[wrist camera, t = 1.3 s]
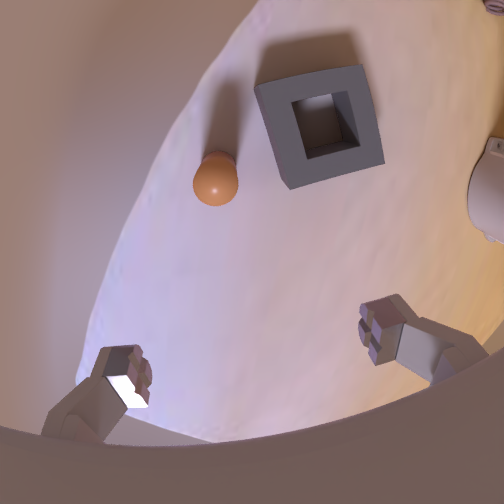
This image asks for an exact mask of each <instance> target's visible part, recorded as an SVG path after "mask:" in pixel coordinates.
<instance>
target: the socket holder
mask: <svg viewBox="0 0 504 504" xmlns="http://www.w3.org/2000/svg"><path fill="white" fill-rule="evenodd" d="M254 92H255V95H256V98H257V101H258V104H259V107H260V110H261V113H262V117H263V120H264V123H265V126H266V129H267V132H268V136H269V139H270V142H271V145H272V149H273V152H274V155H275V159H276V162H277V165H278V169H279V172H280V176H281V179H282V180H283V182H284V183H285V184H286V186H287V187H288V188H289V189H290V190H291V189H295V188H298V187H302V186H305V185H308V184H312V183H315V182H319V181H322V180H326V179H329V178H333V177H336V176H340V175H344V174H347V173H351V172H355V171H358V170H362V169H366V168H370V167H374V166H378V165H381V164H385V160H384V155H383V149H382V144H381V138H380V133H379V129H378V124H377V119H376V115H375V111H374V106H373V102H372V98H371V94H370V90H369V87H368V83H367V79H366V76H365V72H364V69H363V65H362V64H361V65H354V66H346V67H340V68H333V69H327V70H322V71H316V72H311V73H306V74H301V75H296V76H292V77H287V78H283V79H279V80H275V81H271V82H267V83H263V84H259V85H257V86H256V87H255V88H254ZM326 94H332V98H333V101H334V105H335V109H336V113H337V116H338V120H339V124H340V128H341V132H342V136H343V141H341V142H336V143H332V144H328V145H325V146H321V147H317V148H313V149H309V150H306V151H305V149H304V146H303V142H302V139H301V135H300V131H299V128H298V124H297V121H296V118H295V114H294V111H293V108H292V104H291V102H294V101H298V100H303V99H307V98H311V97H316V96H321V95H326Z"/></svg>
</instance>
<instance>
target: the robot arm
mask: <svg viewBox="0 0 504 504" xmlns="http://www.w3.org/2000/svg"><path fill="white" fill-rule="evenodd" d="M468 211H469V215H470V218H471V221H472V223H473V224H474V226H475V227H476V228H477V229H479V230H481V231H482V232H483V233H484V234H485V236H486V238H487V240H488V241H490V242H494V241H496V240H497V241H499V242H501V243H502V244H504V139H502V138H496V137H490V138H489V140H488V142H487V145H486V149H485V152H484V154H483V156H482V158H481V159H480V161H479V162H478V164H477V165H476V167H475V169H474V172H473V174H472V177H471V181H470V185H469V191H468ZM359 313H360V315H361V316H362V318H361V319H360V321H359V324H358V331H359V336H360V339H361V342H362V343H363V345H364V346H366V347H368V348H369V352H368V354H369V356H370V358H371V360H372V361H373V363H374V365H375V366H377V365H380V364H384V363H387V362H390V361H393V360H395V361H396V362H398V363H400V364H401V365H403V366H404V367H406V368H408V369H409V370H411V371H413V372H414V373H416V374H417V375H419V376H421V377H422V378H424V379H426V380H427V381H429V382H430V386H429V387H428V388H425V389H423V390H421V391H419V392H416V393H414V394H411V395H409V396H407V397H404V398H401V399H399V400H396V401H394V402H391V403H388V404H386V405H383V406H380V407H377V408H374V409H372V410H369V411H366V412H363V413H359V414H356V415H353V416H350V417H346V418H343V419H340V420H336V421H333V422H329V423H325V424H321V425H317V426H313V427H309V428H305V429H301V430H296V431H291V432H286V433H281V434H276V435H271V436H265V437H259V438H252V439H245V440H238V441H229V442H220V443H209V444H197V445H177V446H130V445H112V444H111V445H110V444H106V443H105V442H104V440H105V438H106V437H107V436H108V435H109V433H110V432H111V431H112V429H113V428H114V427H115V425H116V424H117V423H118V421H119V420H120V419H121V417H122V416H123V415H124V413H125V412H126V411H127V409H128V408H134V407H148V401H149V395H150V392H149V391H148V389H147V388H148V387H149V386H150V385H151V383H152V370H151V367H150V364H149V362H148V360H146V359H145V358H143V357H142V354H143V351H142V349H141V347H140V346H139V345H123V346H112V347H103V348H101V349H100V352H99V354H98V357H97V360H96V362H95V365H94V368H93V370H92V373H91V376H90V377H87V378H86V379H84V380H83V381H82V382H81V383H80V384H79V385H78V386H77V387H75V388H74V389H73V390H72V391H71V392H70V393H69V394H68V395H67V396H65V397H64V398H63V399H62V400H61V401H60V402H59V403H58V404H57V405H56V406H55V407H53V408H52V409H51V410H50V411H49V412H48V415H47V418H46V421H45V423H44V426H43V429H42V432H41V435H36V434H32V433H27V432H23V431H18V430H14V429H10V428H7V427H3V426H0V504H504V347H503V348H501V349H499V350H498V351H496V352H495V353H493V354H491V355H490V356H489V354H488V353H487V352H486V351H485V350H484V349H483V347H482V346H481V345H480V344H479V343H478V342H477V340H476V339H475V338H474V337H473V336H471V335H469V334H466V333H464V332H461V331H458V330H456V329H453V328H450V327H448V326H445V325H442V324H440V323H437V322H435V321H432V320H429V319H427V318H424V317H421V318H419V317H418V316H417V315H416V313H415V312H414V311H413V310H412V309H411V308H410V306H409V305H408V304H407V303H406V302H405V301H404V300H403V298H402V297H401V296H400V295H399V294H393V295H390V296H387V297H385V298H381V299H377V300H373V301H370V302H366V303H362V304H361V306H360V311H359Z"/></svg>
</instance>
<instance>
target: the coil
mask: <svg viewBox="0 0 504 504" xmlns="http://www.w3.org/2000/svg"><path fill="white" fill-rule="evenodd" d="M484 1H485V2H484V4H485V6H486V7H487V8H486V11H487V12H489V13H491V14H493V15H499V16H503V15H504V0H484ZM498 1H499V2H498ZM491 5H493V6H491ZM494 6H501V7H494ZM490 9H491V10H490ZM492 10H496V11H492ZM497 11H502V12H497Z"/></svg>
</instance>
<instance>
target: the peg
mask: <svg viewBox="0 0 504 504" xmlns="http://www.w3.org/2000/svg"><path fill="white" fill-rule="evenodd" d="M193 189H194V192H195V195H196V196H197V197H198V199H199V200H200V201H202V202H203V203H205V204H207V205H210V206H221V205H224V204H226V203H228V202H229V201H231V200H232V199H233V198H234V196H235V195H236V193H237V190H238V177H237V170H236V164H235V161H234V159H233V158H232V157H231V156H230V155H229V154H228V153H226V152H223V151H214V152H211V153H209V154H208V155H207V156H206V157H205V158H204V159H203V161H202V163H201V164H200V166H199V168H198V170H197V172H196V174H195V176H194V179H193Z"/></svg>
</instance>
